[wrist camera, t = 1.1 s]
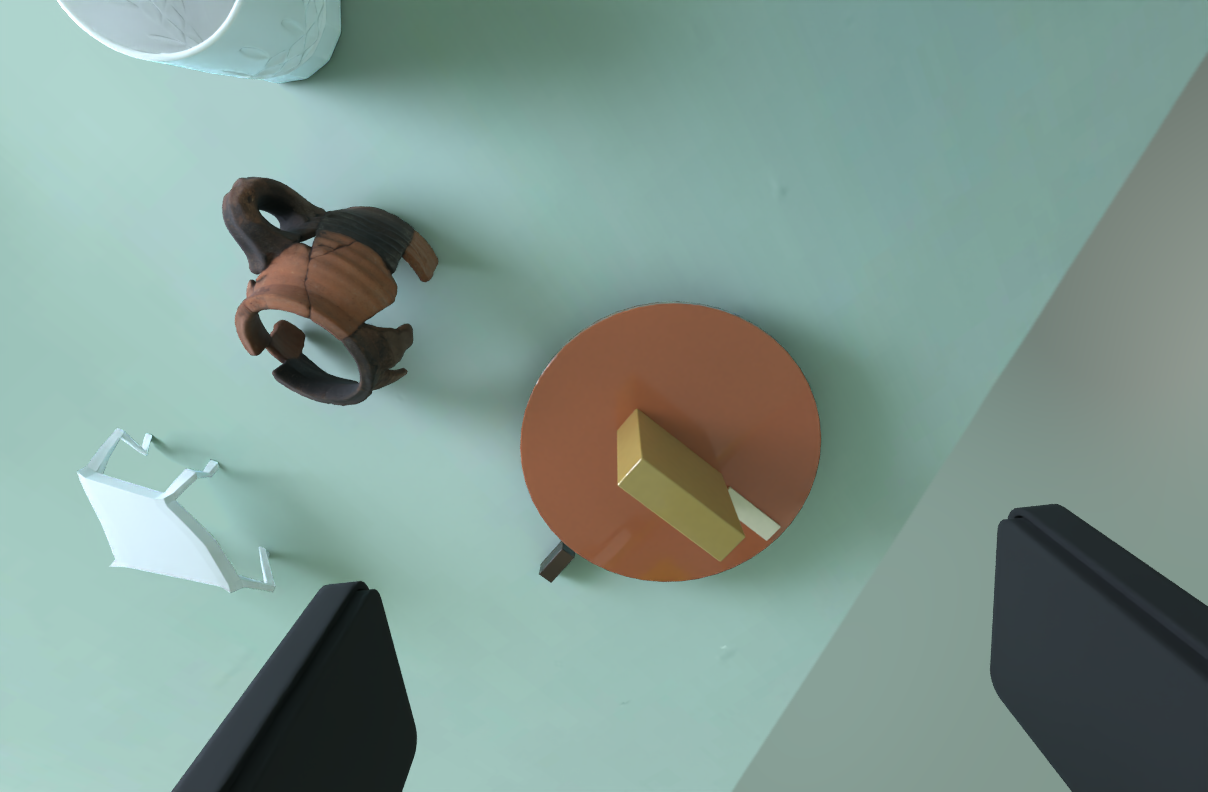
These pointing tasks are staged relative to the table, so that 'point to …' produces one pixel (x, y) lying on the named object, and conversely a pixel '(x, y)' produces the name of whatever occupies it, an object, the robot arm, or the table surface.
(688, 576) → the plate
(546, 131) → the table surface
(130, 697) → the table surface
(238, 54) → the white cup
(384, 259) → the pottery mug
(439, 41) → the table surface
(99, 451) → the origami figure
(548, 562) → the dark grey rectangular block
